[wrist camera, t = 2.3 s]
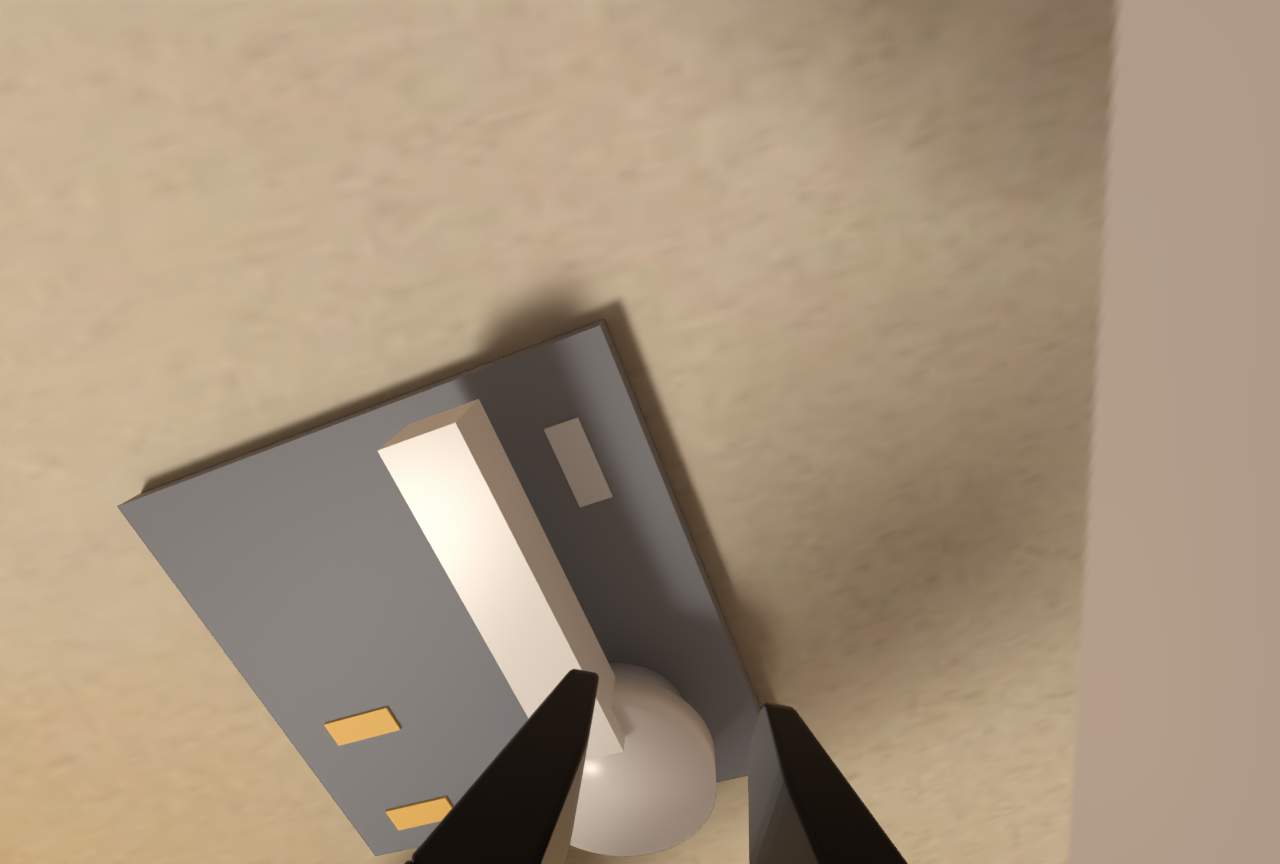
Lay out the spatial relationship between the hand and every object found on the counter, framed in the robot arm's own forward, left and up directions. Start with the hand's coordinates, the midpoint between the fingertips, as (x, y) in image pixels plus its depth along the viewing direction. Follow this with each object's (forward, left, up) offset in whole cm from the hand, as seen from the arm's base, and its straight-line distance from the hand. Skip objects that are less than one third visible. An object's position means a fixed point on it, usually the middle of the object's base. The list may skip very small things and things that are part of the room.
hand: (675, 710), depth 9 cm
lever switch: (-6, +6, -10) cm, 13 cm away
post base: (-6, +11, -13) cm, 18 cm away
